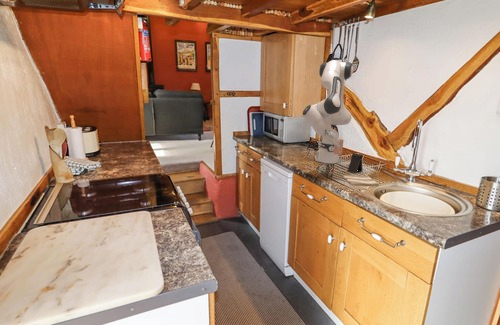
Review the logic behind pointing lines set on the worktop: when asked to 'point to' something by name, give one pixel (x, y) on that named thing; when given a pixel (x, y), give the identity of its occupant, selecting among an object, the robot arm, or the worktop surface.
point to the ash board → (360, 180)
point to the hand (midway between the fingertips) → (337, 145)
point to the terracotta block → (338, 150)
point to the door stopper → (355, 163)
